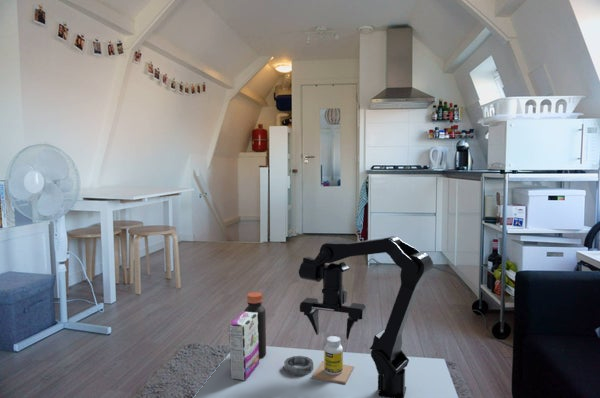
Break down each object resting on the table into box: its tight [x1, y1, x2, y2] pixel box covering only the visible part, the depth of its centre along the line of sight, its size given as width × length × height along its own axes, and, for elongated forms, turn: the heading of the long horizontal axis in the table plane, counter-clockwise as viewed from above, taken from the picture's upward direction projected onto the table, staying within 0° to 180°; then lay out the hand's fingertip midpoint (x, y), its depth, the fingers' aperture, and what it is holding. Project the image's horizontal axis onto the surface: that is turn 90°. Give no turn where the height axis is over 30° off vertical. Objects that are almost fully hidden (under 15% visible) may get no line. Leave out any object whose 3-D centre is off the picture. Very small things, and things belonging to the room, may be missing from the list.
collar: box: [283, 355, 314, 377], centre depth 126 cm, size 8×8×2 cm
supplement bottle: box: [323, 335, 344, 375], centre depth 123 cm, size 5×5×10 cm
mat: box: [311, 360, 355, 385], centre depth 124 cm, size 10×10×1 cm
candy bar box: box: [228, 311, 260, 382], centre depth 124 cm, size 11×5×16 cm, turn 164°
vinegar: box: [243, 291, 267, 360], centre depth 135 cm, size 7×7×20 cm
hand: (332, 336), depth 123 cm, fingers open, 9 cm apart
